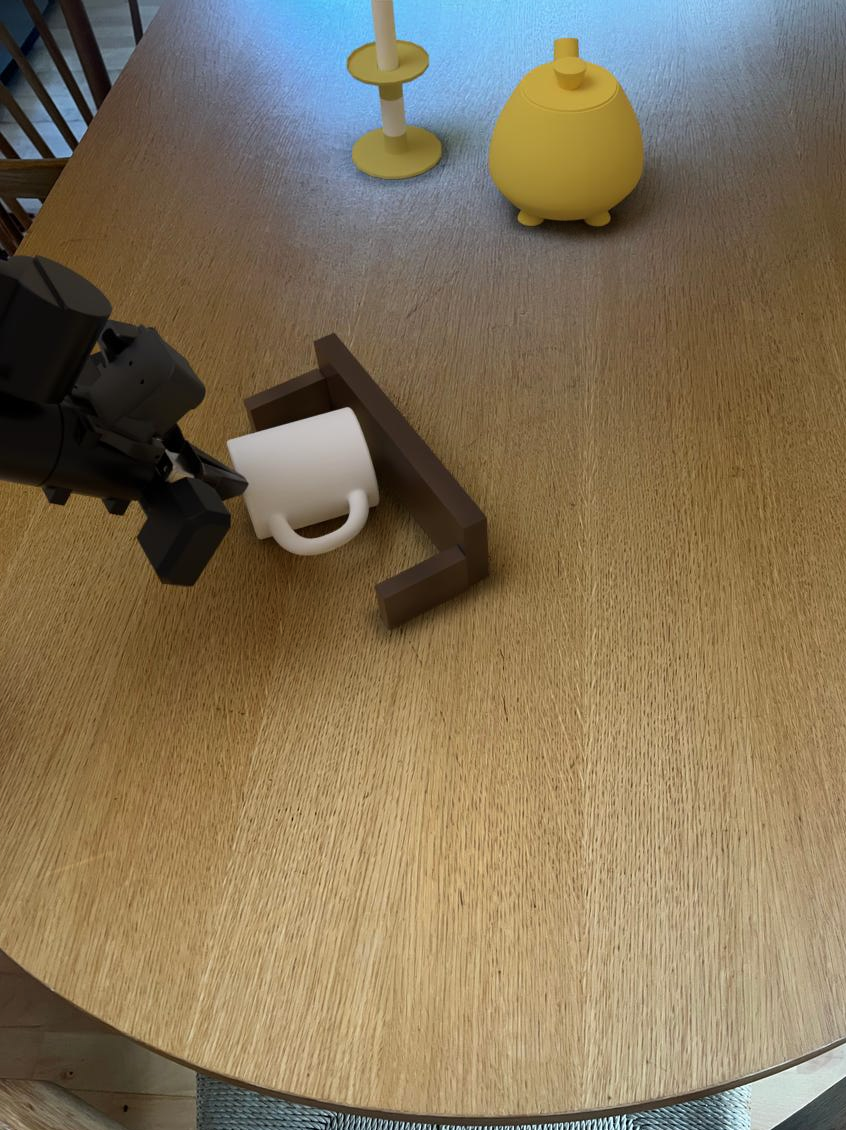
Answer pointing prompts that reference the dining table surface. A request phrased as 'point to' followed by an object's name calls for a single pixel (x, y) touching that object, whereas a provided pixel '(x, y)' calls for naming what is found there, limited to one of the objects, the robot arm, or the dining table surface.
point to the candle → (392, 102)
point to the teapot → (566, 142)
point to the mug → (307, 479)
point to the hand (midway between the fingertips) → (244, 485)
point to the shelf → (390, 477)
